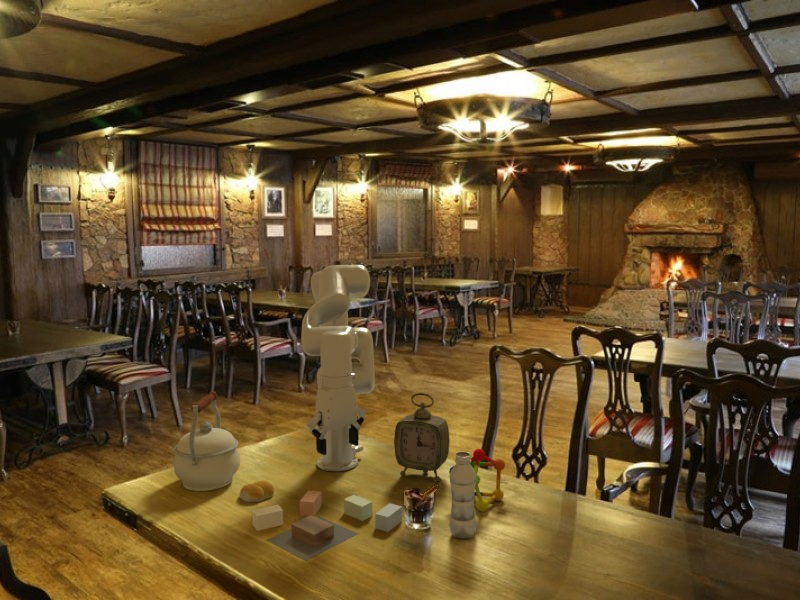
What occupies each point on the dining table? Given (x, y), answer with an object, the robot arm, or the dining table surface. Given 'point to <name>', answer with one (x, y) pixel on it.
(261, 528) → the brick cream
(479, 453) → the educational toy
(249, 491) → the bread roll
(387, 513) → the grey block
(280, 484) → the dining table surface
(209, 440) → the kettle
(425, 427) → the tabletop clock
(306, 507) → the brick terracotta
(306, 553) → the slate board
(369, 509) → the brick sage
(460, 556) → the dining table surface
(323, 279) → the robot arm
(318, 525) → the brick walnut
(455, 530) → the plastic bottle
